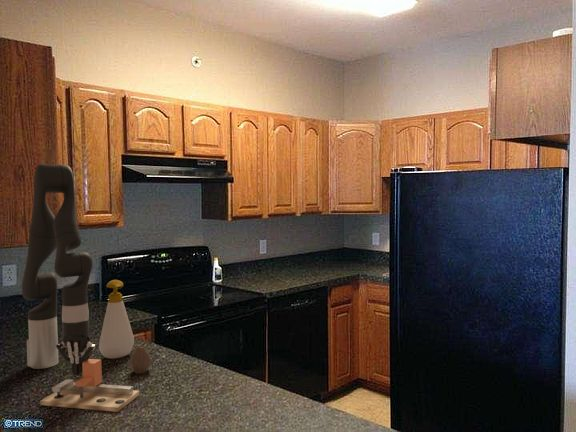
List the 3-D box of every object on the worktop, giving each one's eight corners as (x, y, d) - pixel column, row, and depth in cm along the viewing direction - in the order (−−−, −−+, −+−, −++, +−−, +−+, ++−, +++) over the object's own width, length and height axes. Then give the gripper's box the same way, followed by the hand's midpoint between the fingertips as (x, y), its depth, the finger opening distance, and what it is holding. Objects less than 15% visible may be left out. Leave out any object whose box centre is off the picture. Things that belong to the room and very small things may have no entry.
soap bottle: (103, 364, 176) (100, 284, 175) (96, 356, 185) (94, 280, 183) (139, 357, 183) (137, 280, 182) (131, 350, 192) (129, 276, 190)
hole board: (40, 404, 143) (40, 400, 143) (67, 388, 154) (66, 384, 154) (117, 411, 137) (117, 407, 137) (139, 394, 149) (139, 390, 149)
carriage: (73, 398, 143) (72, 368, 143) (90, 387, 151) (89, 358, 151) (85, 399, 142) (84, 369, 142) (102, 388, 150) (101, 359, 150)
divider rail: (48, 397, 145) (48, 387, 145) (65, 387, 152) (65, 377, 152) (119, 403, 140) (118, 392, 140) (133, 393, 147) (132, 382, 147)
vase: (129, 376, 164) (129, 350, 164) (130, 369, 171) (130, 344, 171) (151, 373, 166) (150, 348, 166) (151, 367, 173) (150, 342, 172)
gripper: (48, 320, 147) (50, 377, 147) (87, 322, 144) (89, 380, 145) (64, 314, 154) (66, 369, 155) (102, 316, 151) (104, 371, 152)
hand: (77, 374), depth 150 cm, fingers closed
